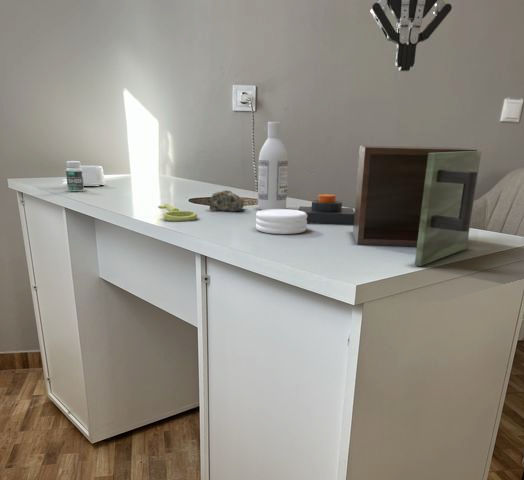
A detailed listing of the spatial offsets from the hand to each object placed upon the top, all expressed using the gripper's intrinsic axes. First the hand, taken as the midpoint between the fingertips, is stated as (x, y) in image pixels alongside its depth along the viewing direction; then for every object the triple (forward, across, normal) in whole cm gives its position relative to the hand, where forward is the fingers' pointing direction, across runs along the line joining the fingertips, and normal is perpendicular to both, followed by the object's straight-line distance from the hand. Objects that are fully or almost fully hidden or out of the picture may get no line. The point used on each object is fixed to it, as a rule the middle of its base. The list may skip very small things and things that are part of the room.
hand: (404, 70), depth 91 cm
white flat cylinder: (+28, -20, +8) cm, 35 cm away
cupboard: (+28, +3, +1) cm, 28 cm away
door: (+28, +9, -15) cm, 33 cm away
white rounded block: (+28, -85, +84) cm, 122 cm away
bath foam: (+28, -22, +38) cm, 52 cm away
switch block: (+28, -10, +22) cm, 37 cm away
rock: (+28, -32, +34) cm, 55 cm away
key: (+28, -43, +20) cm, 55 cm away
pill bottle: (+28, -82, +67) cm, 110 cm away
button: (+24, -10, +22) cm, 34 cm away
